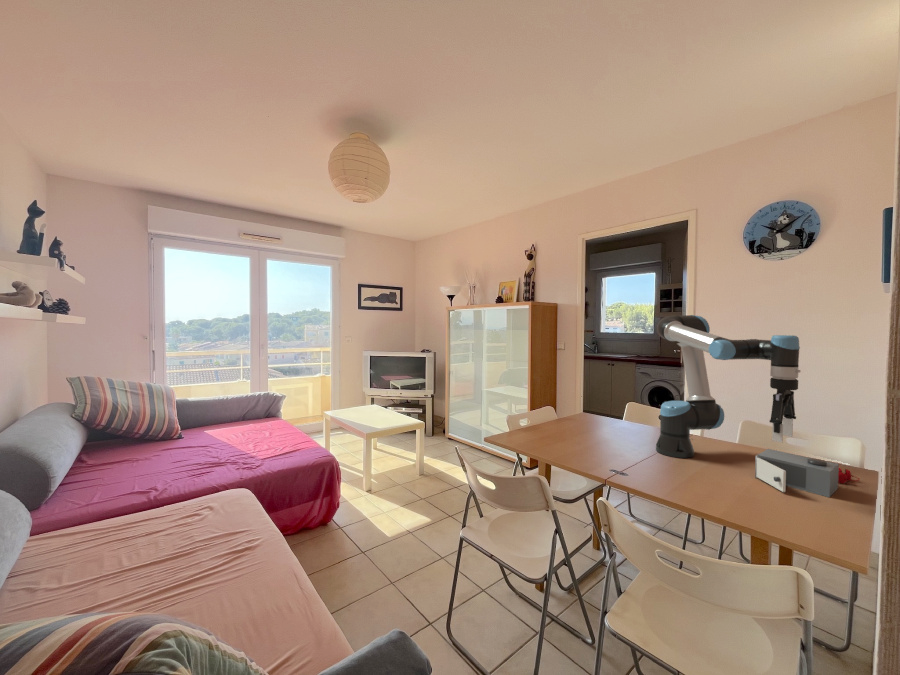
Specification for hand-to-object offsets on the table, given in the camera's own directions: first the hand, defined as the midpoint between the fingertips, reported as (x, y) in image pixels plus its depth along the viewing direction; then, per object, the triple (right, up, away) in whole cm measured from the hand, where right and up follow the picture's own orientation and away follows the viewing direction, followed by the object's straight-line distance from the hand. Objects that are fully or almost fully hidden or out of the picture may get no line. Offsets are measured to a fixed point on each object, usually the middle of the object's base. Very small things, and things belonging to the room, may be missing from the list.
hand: (782, 438), depth 135 cm
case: (+9, -18, +4) cm, 20 cm away
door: (-4, -17, +2) cm, 18 cm away
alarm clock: (+26, -18, +8) cm, 33 cm away
